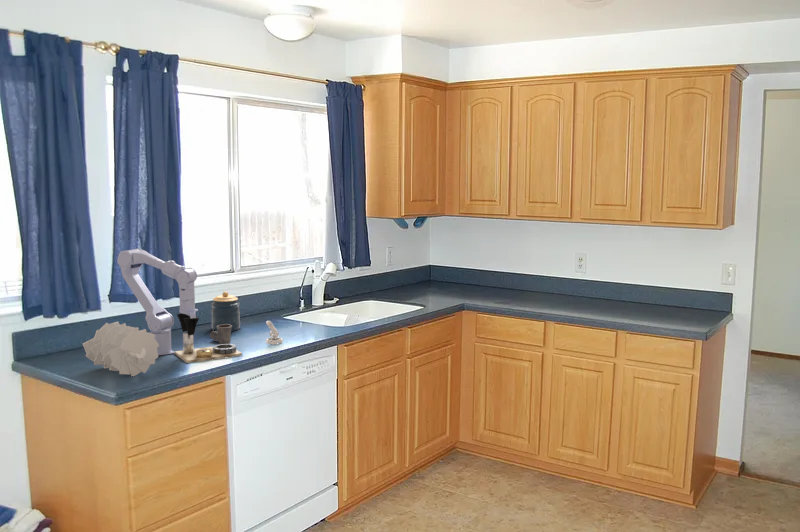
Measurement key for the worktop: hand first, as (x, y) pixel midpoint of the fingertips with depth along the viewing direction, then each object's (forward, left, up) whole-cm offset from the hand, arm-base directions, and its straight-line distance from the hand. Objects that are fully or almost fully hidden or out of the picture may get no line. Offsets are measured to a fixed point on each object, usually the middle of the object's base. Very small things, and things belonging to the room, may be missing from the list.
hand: (188, 333), depth 275 cm
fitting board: (+7, -3, -9) cm, 12 cm away
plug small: (+4, -7, -9) cm, 12 cm away
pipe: (+18, +13, -9) cm, 24 cm away
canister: (+29, +38, -9) cm, 49 cm away
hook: (+38, +3, -9) cm, 39 cm away
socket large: (+13, -5, -9) cm, 17 cm away
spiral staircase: (-27, -10, -9) cm, 30 cm away
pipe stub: (0, 0, -8) cm, 8 cm away
